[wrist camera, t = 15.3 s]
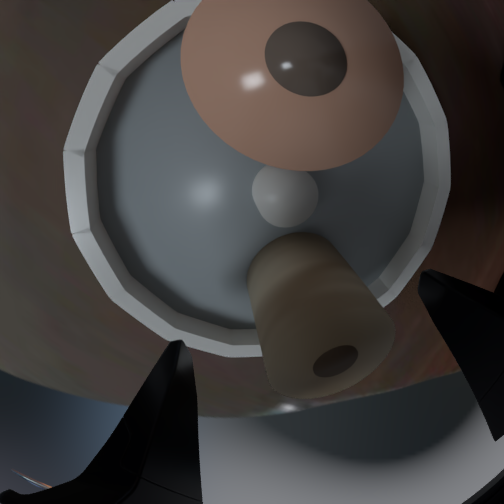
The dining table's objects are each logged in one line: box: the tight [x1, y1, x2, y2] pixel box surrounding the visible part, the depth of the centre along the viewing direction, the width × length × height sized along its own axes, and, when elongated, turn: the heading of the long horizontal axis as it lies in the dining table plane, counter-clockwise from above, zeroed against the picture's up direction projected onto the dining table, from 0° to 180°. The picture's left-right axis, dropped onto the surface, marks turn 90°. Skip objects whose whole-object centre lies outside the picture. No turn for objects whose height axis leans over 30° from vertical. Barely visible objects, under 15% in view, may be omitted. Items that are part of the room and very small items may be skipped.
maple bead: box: [247, 232, 395, 399], centre depth 9 cm, size 4×4×5 cm
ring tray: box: [63, 0, 451, 357], centre depth 9 cm, size 14×14×2 cm
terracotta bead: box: [181, 0, 404, 171], centre depth 5 cm, size 4×4×5 cm
